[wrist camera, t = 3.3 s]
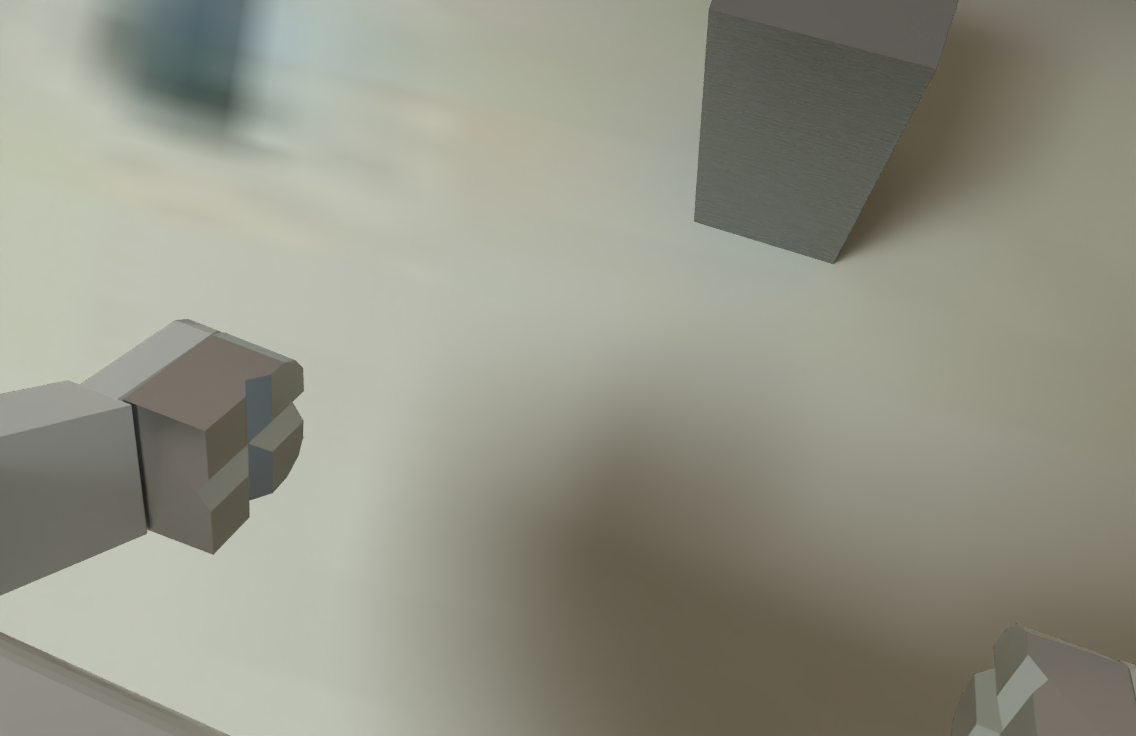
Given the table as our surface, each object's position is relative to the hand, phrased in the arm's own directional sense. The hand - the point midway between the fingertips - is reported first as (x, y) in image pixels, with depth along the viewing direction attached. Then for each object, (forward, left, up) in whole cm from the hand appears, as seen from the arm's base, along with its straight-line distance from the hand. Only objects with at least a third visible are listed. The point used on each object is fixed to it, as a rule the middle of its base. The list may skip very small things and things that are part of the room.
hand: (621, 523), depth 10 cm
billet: (0, +11, -14) cm, 18 cm away
